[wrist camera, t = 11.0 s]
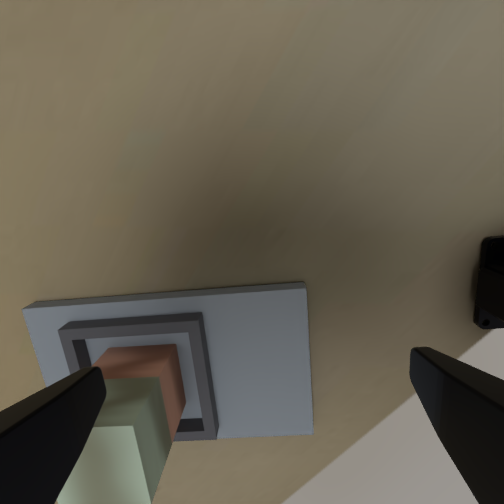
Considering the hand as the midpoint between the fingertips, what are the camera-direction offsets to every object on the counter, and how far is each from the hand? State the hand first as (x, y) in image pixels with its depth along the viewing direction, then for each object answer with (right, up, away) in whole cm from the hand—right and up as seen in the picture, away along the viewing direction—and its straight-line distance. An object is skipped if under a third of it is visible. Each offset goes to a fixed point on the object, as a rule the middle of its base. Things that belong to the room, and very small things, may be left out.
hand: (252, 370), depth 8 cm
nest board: (-6, -5, +14) cm, 16 cm away
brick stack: (-8, -6, +13) cm, 16 cm away
